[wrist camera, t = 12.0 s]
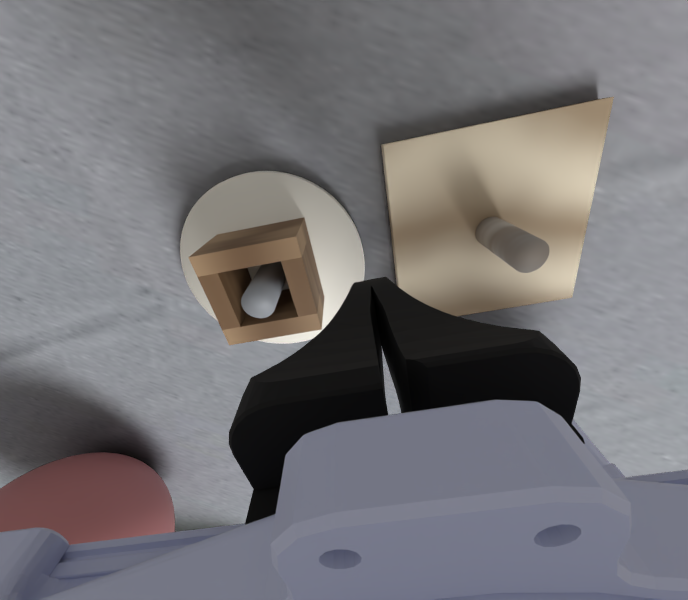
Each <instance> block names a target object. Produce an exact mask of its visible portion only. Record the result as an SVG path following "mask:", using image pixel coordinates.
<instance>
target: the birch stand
mask: <svg viewBox="0 0 688 600" xmlns="http://www.w3.org/2000/svg"><path fill="white" fill-rule="evenodd" d="M613 98H614V97H609V98H602V99H597V100H592V101H587V102H582V103H577V104H573V105H568V106H563V107H558V108H554V109H549V110H544V111H539V112H534V113H530V114H525V115H520V116H515V117H511V118H506V119H501V120H496V121H491V122H487V123H482V124H477V125H472V126H468V127H463V128H458V129H453V130H448V131H444V132H439V133H434V134H429V135H425V136H420V137H415V138H410V139H405V140H401V141H396V142H391V143H386V144H382V145H381V148H382V157H383V166H384V175H385V184H386V193H387V202H388V211H389V220H390V228H391V237H392V246H393V255H394V264H395V273H396V282H397V286H398V287H399V288H400V289H402V290H403V291H405V292H406V293H408V294H409V295H411V296H412V297H414V298H415V299H417V300H419V301H421V302H423V303H424V304H427V305H429V306H431V307H433V308H435V309H438V310H440V311H442V312H445V313H448V314H451V315H454V316H462V315H468V314H475V313H481V312H487V311H493V310H499V309H505V308H511V307H517V306H523V305H530V304H536V303H542V302H548V301H554V300H560V299H566V298H572V295H573V290H574V285H575V281H576V276H577V271H578V266H579V261H580V257H581V252H582V247H583V242H584V237H585V233H586V228H587V223H588V218H589V213H590V209H591V204H592V199H593V194H594V189H595V185H596V180H597V175H598V170H599V165H600V160H601V156H602V151H603V146H604V141H605V136H606V132H607V127H608V122H609V117H610V112H611V108H612V103H613Z"/></svg>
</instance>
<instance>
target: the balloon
mask: <svg viewBox="0 0 688 600" xmlns="http://www.w3.org/2000/svg"><path fill="white" fill-rule="evenodd" d="M29 528H47V529H51V530H54V531H56V532H58V533H59V534H61V535H62V536H63V537H64V538H65V539H66V540H67V541H68V543H69V545H71V544H80V543H88V542H96V541H104V540H113V539H121V538H129V537H137V536H146V535H154V534H162V533H170V532H175V515H174V507H173V503H172V499H171V496H170V493H169V491H168V488H167V487H166V485H165V483H164V481H163V480H162V479H161V477H160V476H159V475H158V474H157V473H156V472H155V471H154V470H153V469H152V468H151V467H149V466H148V465H147V464H145V463H143V462H142V461H140V460H138V459H135V458H133V457H130V456H126V455H122V454H117V453H106V452H97V453H86V454H79V455H74V456H70V457H66V458H62V459H59V460H56V461H53V462H50V463H48V464H45V465H43V466H40V467H38V468H36V469H34V470H32V471H30V472H28V473H26V474H24V475H22V476H20V477H18V478H17V479H15V480H13V481H12V482H10V483H8V484H7V485H5V486H4V487H2V488H1V489H0V532H5V531H13V530H21V529H29Z"/></svg>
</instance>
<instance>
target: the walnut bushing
mask: <svg viewBox="0 0 688 600" xmlns="http://www.w3.org/2000/svg"><path fill="white" fill-rule="evenodd" d="M188 258H189V260H190V262H191V264H192V267H193V269H194V271H195V273H196V275H197V277H198V279H199V281H200V284H201V286H202V288H203V290H204V292H205V294H206V296H207V299H208V301H209V303H210V305H211V307H212V309H213V311H214V313H215V316H216V318H217V320H218V322H219V324H220V326H221V328H222V331H223V333H224V335H225V337H226V339H227V341H228V343H229V345H233V344H239V343H245V342H251V341H257V340H263V339H269V338H275V337H281V336H286V335H292V334H298V333H304V332H310V331H316V330H322V320H323V308H324V293H323V289H322V285H321V281H320V277H319V273H318V269H317V265H316V261H315V258H314V254H313V250H312V246H311V242H310V238H309V234H308V230H307V226H306V222H305V218H304V217H303V218H298V219H293V220H288V221H283V222H278V223H273V224H268V225H263V226H258V227H253V228H248V229H243V230H238V231H233V232H228V233H222V234H217V235H216V236H214V237H213V238H212V239H211V240H209V241H208V242H207V243H206V244H204V245H203V246H202V247H201V248H199V249H198V250H197V251H196V252H194V253H193V254H192V255H191V256H189V257H188ZM280 261H281V263H282V266H283V270H284V273H285V276H286V279H287V282H288V286H289V289H285V290H282V291H281V294H280V297H279V299H278V302H277V305H276V308H275V310H274V312H273V313H272V314H271V315H270V316H268V317H266V318H255V317H252V316H250V315H249V314H247V313H246V312H245V311H244V309H243V307H242V305H241V298H242V296H243V294H244V293H245V291H246V289H247V288H248V286H249V284H250V283H251V281H252V279H251V276H250V274H249V271H248V267H253V266H258V265H264V264H269V263H274V262H280Z"/></svg>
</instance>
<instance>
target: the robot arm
mask: <svg viewBox="0 0 688 600" xmlns="http://www.w3.org/2000/svg"><path fill="white" fill-rule="evenodd" d="M381 346H382V348H381ZM382 349H383V352H384V355H385V358H386V361H387V364H388V367H389V371H390V374H391V377H392V380H393V383H394V386H395V389H396V392H397V396H398V400H399V404H400V408H401V413H400V414H393V415H388V411H387V405H386V398H385V388H384V374H383V361H382ZM580 383H581V377H580V374H579V372H578V369H577V366H576V365H575V364H574V363H573V362H572V361H571V360H570V359H569V358H568V357H567V356H566V355H565V354H564V353H563V352H562V351H561V350H560V349H559V348H558V347H557V346H556V345H555V344H554V343H553V342H551V341H550V340H549V339H548V338H547V337H546V336H545V335H543V334H542V333H541V332H540V331H535V330H526V329H518V328H509V327H501V326H495V325H490V324H485V323H480V322H475V321H471V320H467V319H464V318H461V317H457V316H454V315H451V314H448V313H445V312H442V311H440V310H438V309H435V308H433V307H431V306H429V305H427V304H424V303H423V302H421V301H419V300H417V299H415V298H414V297H412V296H411V295H409V294H408V293H406V292H405V291H403V290H402V289H400V288H399V287H398V286H397V285H395V284H394V283H393V282H392V281H390V280H389V279H388V278H387V277H382V278H377V279H371V280H366V281H360V282H355V283H353V285H352V286H351V288H350V291H349V293H348V295H347V297H346V299H345V300H344V302H343V304H342V305H341V307H340V309H339V310H338V311H337V313H336V314H335V316H334V317H333V319H332V320H331V321H330V322H329V324H328V325H327V326H326V327H325V328H324V329H323V330H322V331H321V332H320V333H319V334H318V335H317V336H316V337H314V338H313V339H312V340H311V341H310V342H309V343H307V344H306V345H305V346H304V347H302V348H301V349H300V350H298V351H297V352H296V353H294V354H293V355H291V356H290V357H288V358H287V359H285V360H283V361H282V362H280V363H278V364H277V365H275V366H273V367H271V368H269V369H267V370H265V371H264V372H262V373H260V374H258V375H256V376H254V377H252V378H251V379H250V382H249V384H248V386H247V388H246V390H245V392H244V394H243V397H242V399H241V402H240V404H239V407H238V410H237V413H236V415H235V418H234V421H233V423H232V426H231V429H230V431H229V445H230V448H231V451H232V453H233V455H234V457H235V459H236V460H237V462H238V464H239V465H240V467H241V469H242V470H243V472H244V474H245V475H246V477H247V479H248V480H249V482H250V484H251V485H252V487H253V489H254V490H253V494H252V498H251V502H250V506H249V510H248V515H247V519H246V523H245V524H236V525H228V526H220V527H212V528H203V529H195V530H187V531H179V532H170V533H162V534H154V535H146V536H137V537H129V538H121V539H113V540H104V541H96V542H88V543H80V544H71V545H69V543H68V541H67V540H66V539H65V538H64V537H63V536H62V535H61V534H59V533H58V532H56V531H54V530H51V529H47V528H29V529H21V530H13V531H5V532H0V600H688V470H682V471H674V472H665V473H657V474H649V475H641V476H632V477H625V476H624V475H623V474H622V473H621V471H620V470H619V469H618V468H617V467H616V465H615V464H612V463H611V464H610V463H609V461H608V460H607V459H606V458H605V457H604V455H603V454H602V453H601V452H600V451H599V449H598V448H597V447H596V446H595V445H594V443H593V442H592V441H591V440H590V439H589V437H588V436H587V435H586V434H585V433H584V431H583V430H582V429H581V428H580V427H579V425H578V424H577V423H576V422H575V421H574V419H573V417H574V413H575V409H576V405H577V401H578V397H579V393H580Z"/></svg>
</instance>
